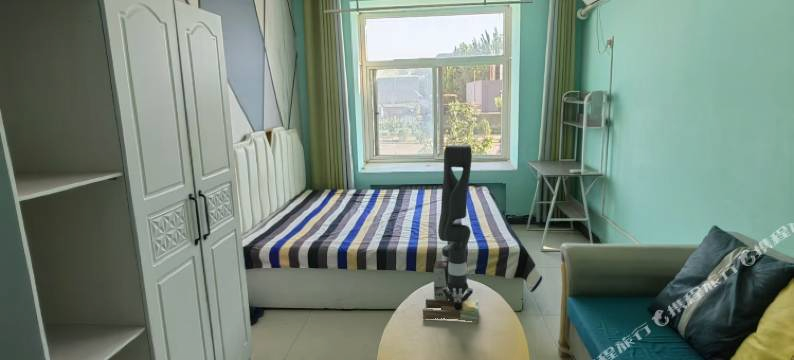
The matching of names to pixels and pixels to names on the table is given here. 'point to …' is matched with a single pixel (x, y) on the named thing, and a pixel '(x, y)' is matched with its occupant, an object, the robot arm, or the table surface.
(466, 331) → the table surface
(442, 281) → the coffee box
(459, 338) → the table surface
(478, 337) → the table surface
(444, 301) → the channel
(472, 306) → the ochre block
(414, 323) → the table surface
